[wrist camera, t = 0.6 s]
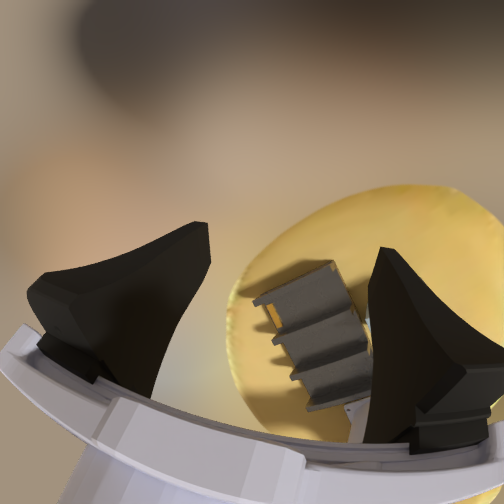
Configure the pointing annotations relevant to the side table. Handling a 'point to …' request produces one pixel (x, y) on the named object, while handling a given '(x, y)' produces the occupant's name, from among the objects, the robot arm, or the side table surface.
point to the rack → (322, 336)
